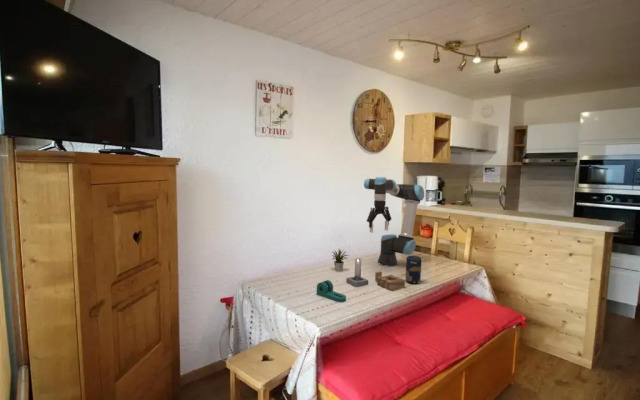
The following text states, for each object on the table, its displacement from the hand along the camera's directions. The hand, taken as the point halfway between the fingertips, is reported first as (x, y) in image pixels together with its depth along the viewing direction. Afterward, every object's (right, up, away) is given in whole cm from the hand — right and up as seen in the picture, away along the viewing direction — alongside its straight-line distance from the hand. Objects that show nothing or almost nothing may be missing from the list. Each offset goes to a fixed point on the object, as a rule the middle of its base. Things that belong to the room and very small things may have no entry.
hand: (378, 231), depth 222 cm
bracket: (-33, -35, -35) cm, 59 cm away
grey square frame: (-16, -33, -11) cm, 38 cm away
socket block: (+5, -34, -14) cm, 37 cm away
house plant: (-27, -30, +15) cm, 43 cm away
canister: (+22, -34, -4) cm, 40 cm away
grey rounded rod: (-16, -33, -11) cm, 38 cm away
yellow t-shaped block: (+1, -33, -8) cm, 33 cm away
